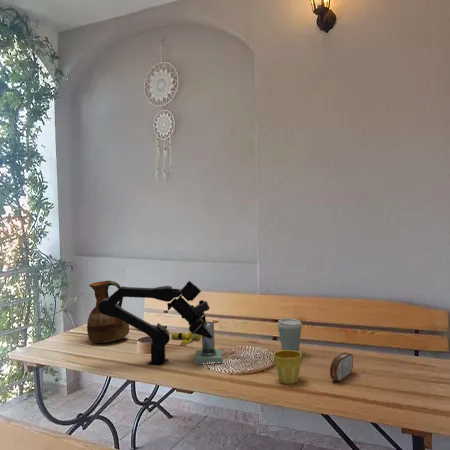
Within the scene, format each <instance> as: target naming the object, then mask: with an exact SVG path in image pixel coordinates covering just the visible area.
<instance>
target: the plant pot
mask: <svg viewBox="0 0 450 450" xmlns="http://www.w3.org/2000/svg"><path fill="white" fill-rule="evenodd" d="M272 358H273V364H274V365H275V366H276V367H275V368H276V372H277V375H278V380H279V383H282V384H286V385H291V384H296V383H298V381H299V377H300V376H299V375H300V371H301V370H300V369H301V365H302V364H303V354H302V352H300V351H299V352H298V351H294V350H282V349H280V350H278V351H275V352H274V353H273V357H272Z"/></svg>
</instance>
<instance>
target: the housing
mask: <svg viewBox="0 0 450 450" xmlns="http://www.w3.org/2000/svg"><path fill="white" fill-rule="evenodd" d="M204 326H205V328H206V329H207V330H208V332H209V333H210V334H211V336H212V338H211V339H210V338H207V337H204V336H201V350H202V351H201V355H202V356H214V355H216V351H215V350H216V347H215V346H216V345H215V343H216V342H215V322H213V321H206V322H204Z"/></svg>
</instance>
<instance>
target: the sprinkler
mask: <svg viewBox="0 0 450 450" xmlns="http://www.w3.org/2000/svg"><path fill="white" fill-rule="evenodd" d="M171 339H174V340H182V342H181V343H180V344H179V346H181V347H184V346H186V345H187V344H189V343H191V342H192V341H193V340H197V341H201V339H202V336H201V335H198V334H194V333H193V334H192V333H191V332H190V331H189V332H188V333H187V334H186V333H183V332H176V333H175V332H174V333H172V334H171Z"/></svg>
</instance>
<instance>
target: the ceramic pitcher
mask: <svg viewBox="0 0 450 450" xmlns="http://www.w3.org/2000/svg"><path fill="white" fill-rule="evenodd" d="M88 286H89V287H90V288H91V289H92V290H93V291H94V297H95V300H96V302H95V306H94V308H93V309H91V312H90V313H89V316H88V318H87V322H86V323H87V325H86V331H87V335H88V336H87V337H88V340H89V341H90V342H92V343H97V344H100V343H101V344H102V343H109V342H115V341H117V340H121V339H123V338H124V337H127V336H128V335H129V333H130V325H129V324H127V323H126V322H124V321H122V320H120V319H118V318H115V317H110V316H107V315H104V314H102V313H100V311H99V309H98V307H99V304H100V302H101V301H102V300H103V299H104V298H109V297H110V296H109V287H111V286H114V287H116V288H117V290H118V289H119V288H120V287H122V286H121V285H120V284H119V283H118V282H116V281H114V280H113V281H112V280H103V281H102V280H101V281H96V282H93V283H90V284H89V285H88ZM123 301H124V297H123V298H122V299H121V300H120V301H119V302H118V305H119V306H120V307H121V308H122V306H123Z"/></svg>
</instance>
